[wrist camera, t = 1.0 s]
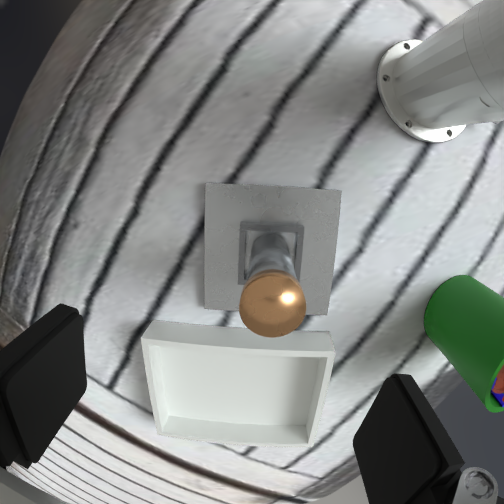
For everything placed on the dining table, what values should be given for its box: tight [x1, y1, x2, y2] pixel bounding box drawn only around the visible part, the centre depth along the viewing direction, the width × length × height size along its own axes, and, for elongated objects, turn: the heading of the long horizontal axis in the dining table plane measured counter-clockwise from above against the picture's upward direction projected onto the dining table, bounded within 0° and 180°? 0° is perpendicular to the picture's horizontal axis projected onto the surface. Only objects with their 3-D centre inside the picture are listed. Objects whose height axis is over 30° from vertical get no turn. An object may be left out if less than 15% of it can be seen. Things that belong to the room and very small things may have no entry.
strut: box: [239, 234, 306, 338], centre depth 27 cm, size 4×4×14 cm
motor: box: [424, 275, 504, 412], centre depth 26 cm, size 10×9×20 cm
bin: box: [141, 320, 336, 447], centre depth 37 cm, size 22×17×4 cm
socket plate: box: [204, 183, 341, 315], centre depth 34 cm, size 14×14×2 cm
